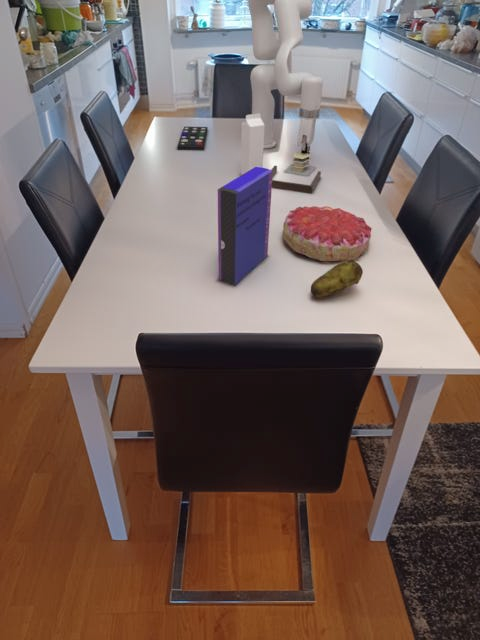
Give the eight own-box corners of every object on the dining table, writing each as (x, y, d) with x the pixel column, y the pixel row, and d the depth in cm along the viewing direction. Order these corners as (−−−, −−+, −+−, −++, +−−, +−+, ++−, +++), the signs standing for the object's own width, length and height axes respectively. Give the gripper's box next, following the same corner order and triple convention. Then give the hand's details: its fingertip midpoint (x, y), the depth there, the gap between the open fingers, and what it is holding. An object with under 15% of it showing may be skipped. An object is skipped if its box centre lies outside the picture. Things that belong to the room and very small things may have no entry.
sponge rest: (274, 171, 179) (274, 165, 178) (320, 178, 175) (321, 171, 173) (262, 186, 167) (263, 179, 166) (311, 193, 163) (312, 186, 161)
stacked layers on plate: (306, 175, 176) (308, 161, 173) (285, 171, 179) (286, 157, 176) (315, 167, 184) (316, 153, 180) (293, 164, 186) (295, 150, 183)
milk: (262, 177, 174) (265, 115, 161) (248, 180, 172) (250, 117, 158) (253, 172, 178) (256, 111, 165) (240, 174, 176) (241, 112, 163)
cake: (262, 238, 132) (266, 213, 127) (313, 216, 148) (318, 192, 143) (334, 276, 120) (341, 249, 115) (381, 247, 136) (389, 222, 131)
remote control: (177, 149, 198) (177, 145, 197) (184, 129, 222) (184, 125, 221) (203, 150, 198) (203, 145, 197) (207, 130, 222) (207, 125, 221)
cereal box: (252, 251, 129) (255, 165, 114) (267, 256, 127) (272, 169, 112) (218, 280, 117) (217, 188, 102) (234, 285, 115) (236, 193, 100)
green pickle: (304, 284, 116) (307, 256, 111) (353, 282, 117) (359, 254, 112) (311, 303, 110) (315, 274, 105) (364, 301, 111) (370, 272, 106)
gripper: (303, 107, 180) (298, 155, 192) (295, 117, 169) (291, 167, 180) (322, 109, 179) (316, 157, 190) (315, 119, 167) (310, 169, 178)
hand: (304, 162), depth 185 cm, fingers closed
